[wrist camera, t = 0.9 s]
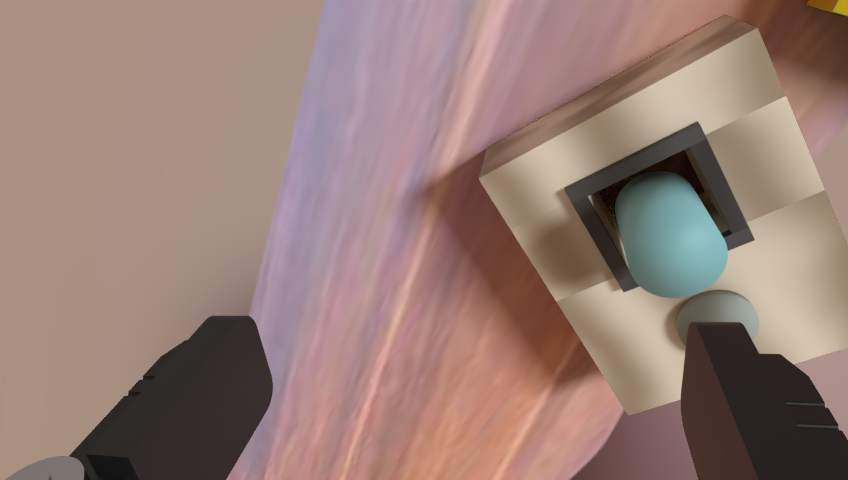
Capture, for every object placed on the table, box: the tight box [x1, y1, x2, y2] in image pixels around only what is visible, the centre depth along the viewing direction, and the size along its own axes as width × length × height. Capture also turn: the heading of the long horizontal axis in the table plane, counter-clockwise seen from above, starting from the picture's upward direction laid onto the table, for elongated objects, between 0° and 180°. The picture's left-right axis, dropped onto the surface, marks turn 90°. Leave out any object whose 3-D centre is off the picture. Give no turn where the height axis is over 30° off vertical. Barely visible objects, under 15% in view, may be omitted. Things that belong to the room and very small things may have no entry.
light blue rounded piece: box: [615, 171, 728, 298], centre depth 27 cm, size 4×4×6 cm
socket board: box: [478, 15, 848, 415], centre depth 32 cm, size 14×18×6 cm
